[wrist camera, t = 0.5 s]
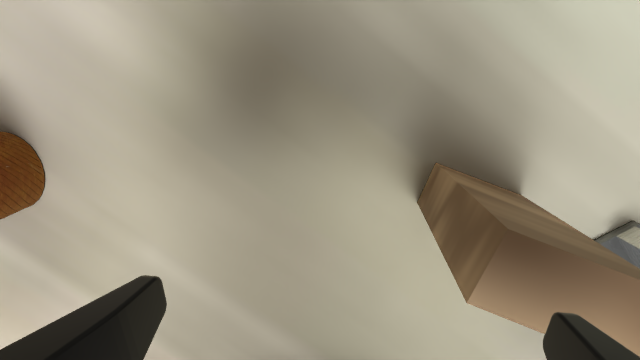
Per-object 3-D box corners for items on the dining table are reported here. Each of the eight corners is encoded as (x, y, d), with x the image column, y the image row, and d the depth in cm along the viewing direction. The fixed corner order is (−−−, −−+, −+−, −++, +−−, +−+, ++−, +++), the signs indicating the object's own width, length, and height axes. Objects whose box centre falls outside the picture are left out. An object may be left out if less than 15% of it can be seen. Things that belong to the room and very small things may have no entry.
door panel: (499, 234, 23) (631, 368, 12) (417, 202, 23) (466, 302, 12) (521, 195, 22) (686, 297, 11) (435, 162, 23) (508, 229, 11)
